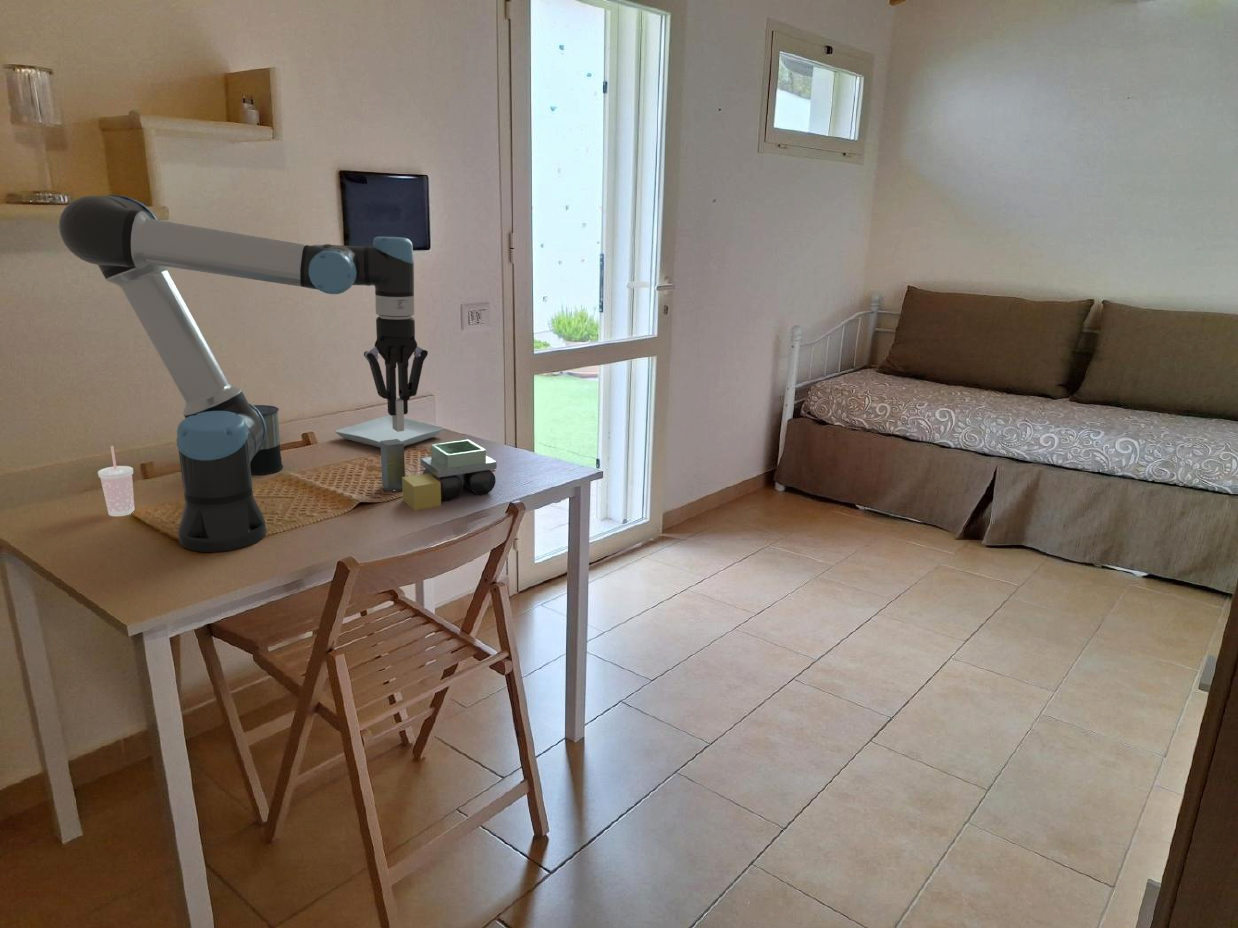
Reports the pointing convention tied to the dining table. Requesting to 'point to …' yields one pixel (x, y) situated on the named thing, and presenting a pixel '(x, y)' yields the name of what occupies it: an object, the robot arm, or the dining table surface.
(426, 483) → the block
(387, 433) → the salad plate
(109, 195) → the robot arm
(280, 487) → the dining table surface
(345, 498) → the dining table surface
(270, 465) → the milk frother
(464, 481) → the box
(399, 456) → the pin
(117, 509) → the beverage cup
